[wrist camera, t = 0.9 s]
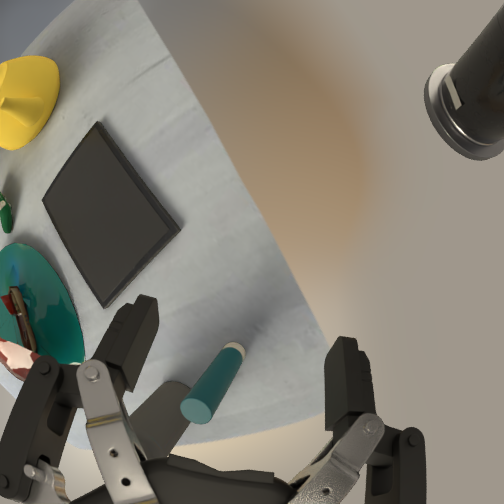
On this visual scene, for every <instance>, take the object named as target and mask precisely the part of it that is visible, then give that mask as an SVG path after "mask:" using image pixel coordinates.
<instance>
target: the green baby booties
mask: <svg viewBox="0 0 504 504" xmlns="http://www.w3.org/2000/svg"><path fill="white" fill-rule="evenodd" d="M6 200H7V199H6V197H5V196H4V197H3V195H2V194H1V192H0V217H1V223H2V228H3V230H4V232H5V233H11V228H12V214H11V208H12V207H11V205H10V203H9V204H8V203H7V201H6Z"/></svg>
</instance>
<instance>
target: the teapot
mask: <svg viewBox="0 0 504 504" xmlns="http://www.w3.org/2000/svg"><path fill="white" fill-rule="evenodd" d="M59 88H60V77H59V71H58V67H57V65H56V63H55V62H54V61H53V60H51V59H49V58H46V57H42V56H24V57H19V58H15V59H11V60H8V61H6V62H3V63H2V64H0V146H1V147H3V148H5V149H8V150H16V149H19V148H21V147H23V146H24V145H26V144H27V143H29V142H30V141H31V140H32V139H34V138H35V137H36V136H37V135H38V133H39V132H40V131H41V130H42V128H43V127H44V125H45V124H46V122H47V120H48V118H49V117H50V115H51V113H52V111H53V108H54V106H55V103H56V100H57V97H58V93H59Z"/></svg>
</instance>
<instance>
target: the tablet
mask: <svg viewBox="0 0 504 504" xmlns="http://www.w3.org/2000/svg"><path fill="white" fill-rule="evenodd" d="M42 202H43V204H44V206H45V208H46V210H47V212H48V214H49V216H50V218H51V221H52V223H53V225H54V226H55V228H56V230H57V232H58V234H59V236H60V238H61V240H62V242H63V244H64V245H65V247H66V249H67V251H68V253H69V254H70V256H71V258H72V260H73V261H74V263H75V265H76V267H77V268H78V270H79V272H80V273H81V275H82V277H83V278H84V280H85V281H86V283H87V285H88V286H89V288H90V289H91V291H92V292H93V294H94V295H95V297H96V298H97V300H98V301H99V303H100V304H101V306H102V307H103V309H106V308H108V307H109V306H110V305H111V304H112V302H113V301H114V300H115V299H116V298H117V297H118V296H119V295H120V294H121V293H122V291H123V290H124V289H125V288H126V287H127V286H128V285H129V284H130V283H131V282H132V281H133V279H134V278H135V277H136V276H137V275H138V274H139V273H140V272H141V271H142V270H143V269H144V268H145V267H146V266H147V265H148V264H149V262H150V261H151V260H152V259H153V258H154V257H155V256H156V255H157V254H158V253H159V252H160V251H161V250H162V249H163V248H164V247H165V246H166V245H167V244H168V243H169V242H170V241H171V240H172V239H173V238H174V237H175V236H176V235H177V234H178V233H179V232H180V231H181V229H180V228H179V227H178V225H177V224H176V223H175V221H174V220H173V219H172V218H171V216H170V215H169V214H168V212H167V211H166V210H165V209H164V207H163V206H162V205H161V203H160V202H159V201H158V200H157V198H156V197H155V196H154V194H153V193H152V192H151V190H150V189H149V188H148V186H147V185H146V184H145V182H144V181H143V180H142V179H141V177H140V176H139V175H138V173H137V172H136V170H135V169H134V168H133V166H132V165H131V164H130V162H129V161H128V160H127V158H126V157H125V156H124V154H123V153H122V152H121V150H120V149H119V147H118V146H117V145H116V143H115V142H114V140H113V139H112V138H111V136H110V135H109V134H108V132H107V131H106V129H105V128H104V126H103V125H102V124H101V123H100V122H98V121H97V122H96V123H95V124H94V125H93V126H92V128H91V129H90V130H89V131H88V133H87V134H86V135H85V137H84V138H83V139H82V141H81V142H80V143H79V144H78V146H77V147H76V149H75V150H74V151H73V153H72V154H71V155H70V157H69V158H68V160H67V161H66V163H65V164H64V166H63V167H62V168H61V170H60V171H59V173H58V174H57V176H56V178H55V179H54V181H53V182H52V184H51V185H50V187H49V189H48V190H47V192H46V194H45V195H44V197H43V199H42Z"/></svg>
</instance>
